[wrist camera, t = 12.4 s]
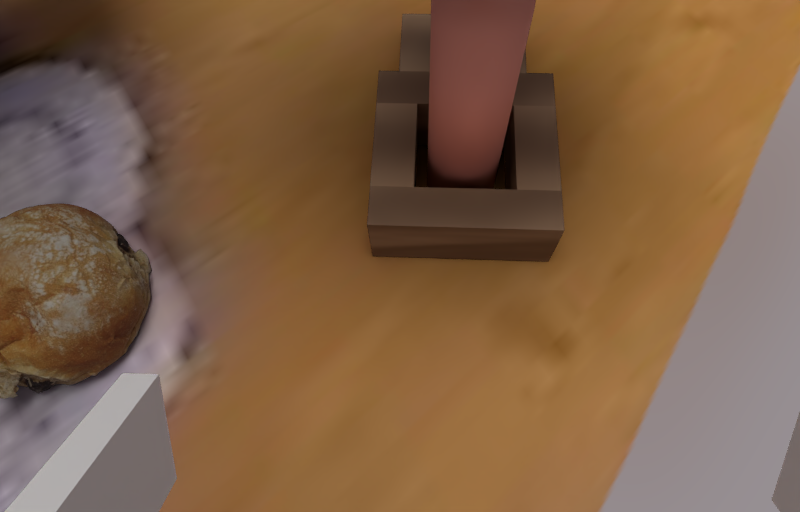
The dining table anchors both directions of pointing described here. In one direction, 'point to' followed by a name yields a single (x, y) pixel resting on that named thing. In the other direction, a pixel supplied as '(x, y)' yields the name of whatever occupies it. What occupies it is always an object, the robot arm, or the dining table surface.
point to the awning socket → (462, 207)
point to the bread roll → (65, 296)
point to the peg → (472, 87)
